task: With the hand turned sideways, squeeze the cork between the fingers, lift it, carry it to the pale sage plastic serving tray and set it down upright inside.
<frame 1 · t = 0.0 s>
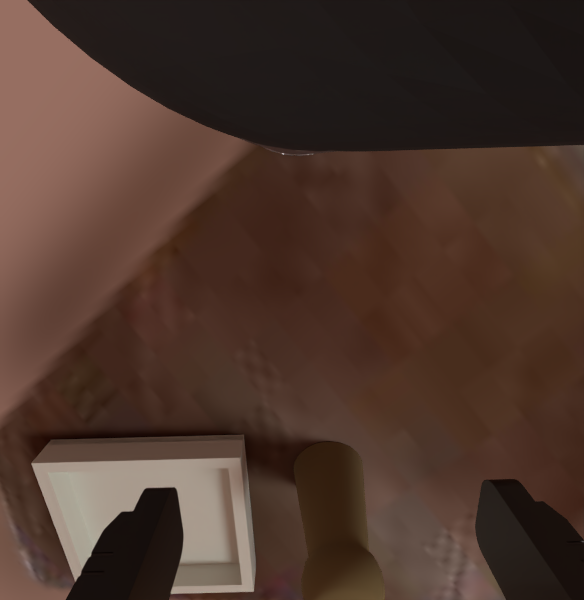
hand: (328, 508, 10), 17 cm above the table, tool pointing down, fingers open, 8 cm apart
serving tray: (162, 507, 33), on the table
cork: (327, 467, 32), on the table
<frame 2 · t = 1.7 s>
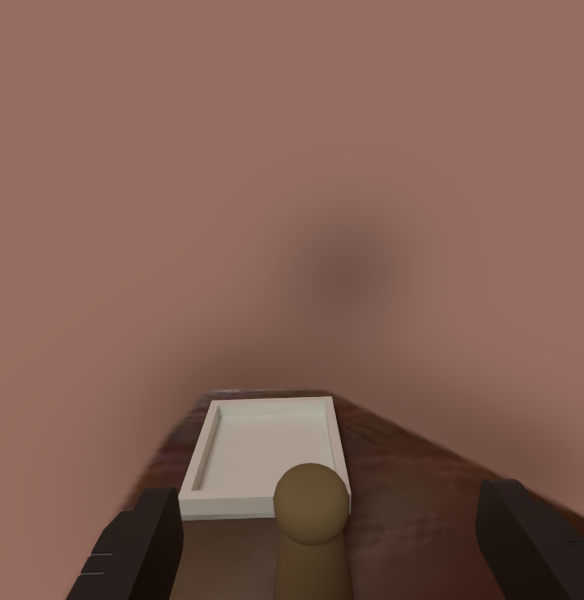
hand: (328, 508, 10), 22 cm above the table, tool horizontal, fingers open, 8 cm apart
serving tray: (269, 456, 42), on the table
cork: (313, 598, 28), on the table
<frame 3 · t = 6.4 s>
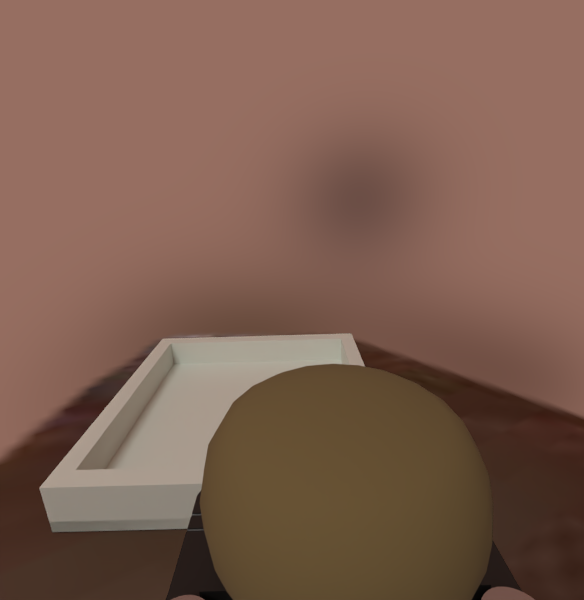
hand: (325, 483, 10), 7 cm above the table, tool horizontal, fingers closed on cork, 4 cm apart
serving tray: (248, 419, 24), on the table
when the fingers open (8 cm above the table, at t = 11.3 s): cork stays where it is, point 1 cm above the table.
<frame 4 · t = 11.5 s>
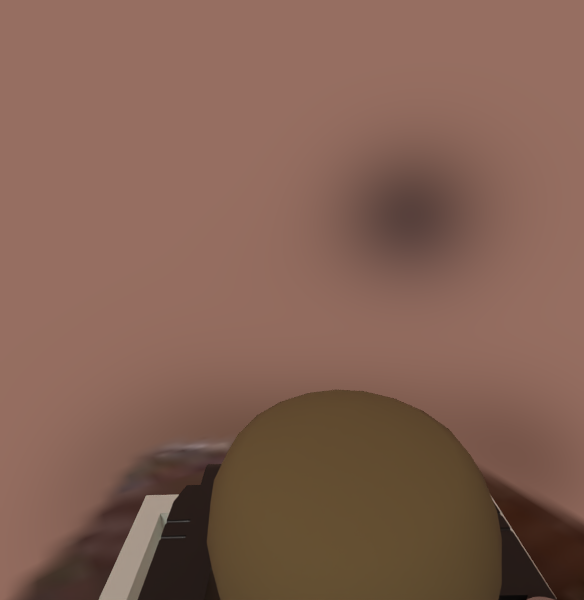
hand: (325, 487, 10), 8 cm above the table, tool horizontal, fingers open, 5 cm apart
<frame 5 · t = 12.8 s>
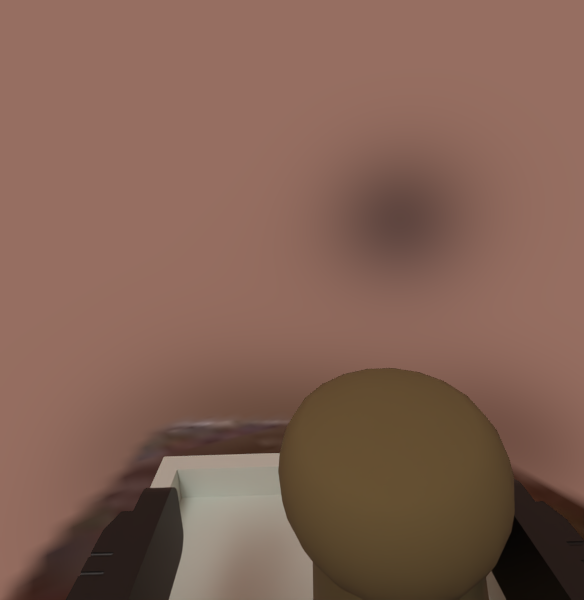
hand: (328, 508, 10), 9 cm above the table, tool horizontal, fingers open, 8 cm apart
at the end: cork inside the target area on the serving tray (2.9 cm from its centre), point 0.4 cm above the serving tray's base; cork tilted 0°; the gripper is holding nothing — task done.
